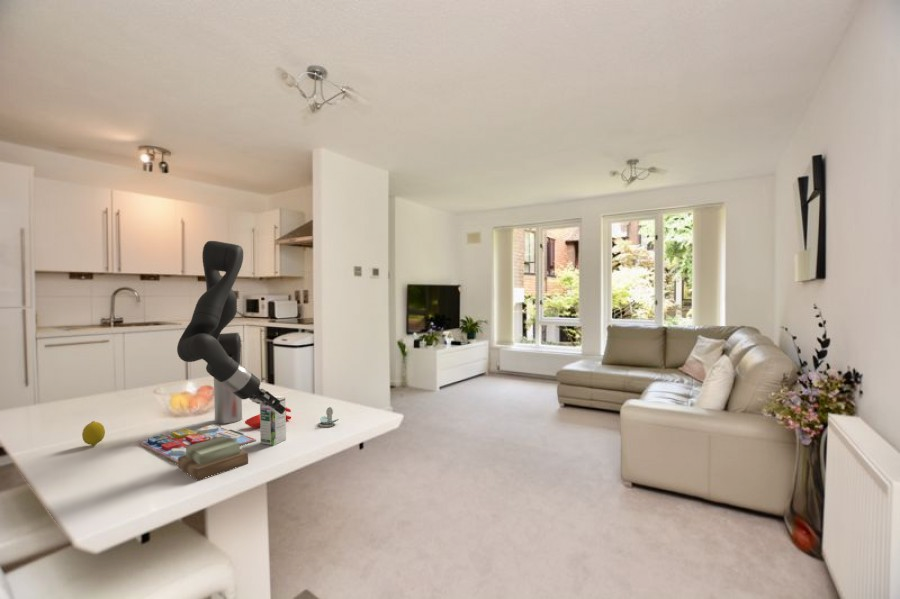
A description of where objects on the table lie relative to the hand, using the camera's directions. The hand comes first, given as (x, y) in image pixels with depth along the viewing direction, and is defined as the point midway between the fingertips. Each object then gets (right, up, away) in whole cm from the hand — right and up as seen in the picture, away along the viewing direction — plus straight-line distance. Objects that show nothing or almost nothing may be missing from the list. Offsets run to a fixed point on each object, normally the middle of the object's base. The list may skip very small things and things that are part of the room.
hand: (276, 409), depth 135 cm
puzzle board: (-26, -12, 0) cm, 28 cm away
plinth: (-10, -11, -19) cm, 24 cm away
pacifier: (+12, -10, +16) cm, 22 cm away
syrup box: (-1, -10, -1) cm, 11 cm away
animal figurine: (-10, -10, +17) cm, 22 cm away
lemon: (-58, -11, -2) cm, 59 cm away
